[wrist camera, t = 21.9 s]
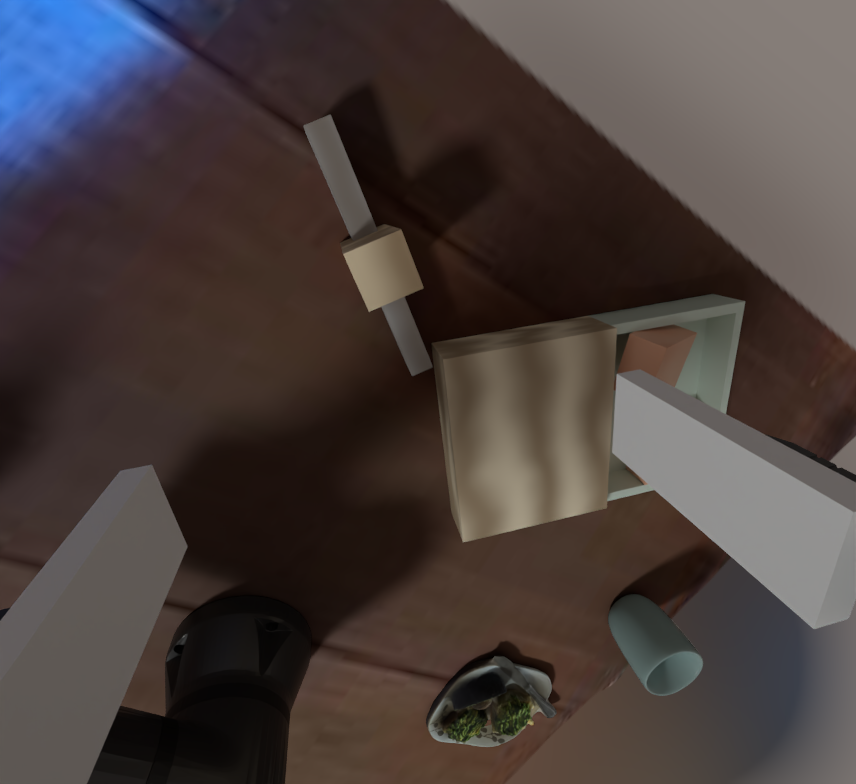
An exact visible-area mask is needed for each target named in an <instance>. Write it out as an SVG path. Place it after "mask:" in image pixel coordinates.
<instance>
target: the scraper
mask: <svg viewBox="0 0 856 784" xmlns="http://www.w3.org/2000/svg"><path fill="white" fill-rule="evenodd" d="M304 129H305V132H306V135H307V137H308V140H309V142H310V144H311V146H312V149H313V151H314V153H315V156H316V158H317V160H318V163H319V165H320V167H321V169H322V172H323V174H324V176H325V179H326V181H327V183H328V186H329V188H330V190H331V192H332V195H333V197H334V199H335V202H336V204H337V206H338V209H339V211H340V213H341V215H342V218H343V220H344V222H345V225H346V227H347V229H348V232H349V234H350V236H351V238H350V239H348V240H345V241H343V242H341V243H340V244H341V248H342V252H343V255H344V257H345V259H346V262H347V264H348V266H349V268H350V270H351V273H352V275H353V277H354V279H355V282H356V284H357V286H358V288H359V290H360V293H361V295H362V297H363V299H364V302H365V304H366V306H367V308H368V311H369V312H370V311H372V310H375V309H377V308H379V307H381V308H382V310H383V312H384V315H385V317H386V319H387V321H388V324H389V326H390V328H391V331H392V333H393V335H394V338H395V340H396V342H397V344H398V347H399V349H400V351H401V354H402V356H403V358H404V361H405V363H406V365H407V367H408V369H409V371H410V373H411V375H412V376H414V375H416V374H419V373H421V372H423V371H425V370H428V369H430V368H432V367H433V366H432V363H431V361H430V358H429V356H428V353H427V351H426V349H425V346H424V344H423V341H422V339H421V336H420V334H419V331H418V329H417V326H416V324H415V321H414V319H413V316H412V314H411V312H410V309H409V307H408V304H407V302H406V299H405V296H407V295H409V294H412V293H414V292H416V291H418V290H421V289H423V288H424V287H423V285H422V282H421V280H420V277H419V274H418V272H417V269H416V266H415V264H414V261H413V259H412V256H411V253H410V251H409V248H408V246H407V243H406V240H405V238H404V235H403V232H402V230H401V229H399V228H396V227H392V226H389V225H386V224H383V225H381V226H378V227H376V225H375V223H374V220H373V218H372V215H371V213H370V210H369V208H368V206H367V203H366V201H365V198H364V196H363V193H362V191H361V188H360V186H359V183H358V181H357V178H356V176H355V173H354V171H353V169H352V166H351V164H350V161H349V159H348V156H347V154H346V151H345V149H344V146H343V144H342V141H341V139H340V136H339V134H338V132H337V129H336V127H335V124H334V122H333V119H332V117H331V114H330V115H328V116H326V117H323V118H321V119H318V120H316V121H314V122H311V123H309V124H306V125H304Z"/></svg>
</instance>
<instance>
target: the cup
mask: <svg viewBox="0 0 856 784" xmlns="http://www.w3.org/2000/svg"><path fill="white" fill-rule="evenodd" d="M608 624H609V627H610V630H611V633H612V635H613V637H614V639H615V641H616V643H617V645H618V647H619V648H620V650H621V652H622V653H623V655H624V657H625V658H626V660H627V661H628V663H629V664H630V666H631V667H632V669H633V671H634V672H635V674H636V675H637V677H638V678H639V680H640V681H641V683H642V684H643V685H644V687H645V688H646V689H647V690H648V691H649V692H651V693H652V694H655V695H660V696H662V695H663V696H664V695H670V694H673V693H676V692H678V691H680V690H681V689H683V688H684V687H686V686H687V685H689V684H690V683H691V682H692V681H693V680H694V679H695V678H696V677H697V676H698V674H699V673H700V672H701V670H702V667H703V660H702V657H701V656H700V654H699V652H698V651H697V650H696V648H695V647H694V646H693V644H692V643H691V642H690V641H689V640H688V638H687V637H686V636H685V635H684V633H683V632H682V631H681V630H680V629H679V628H678V626H677V625H676V624H675V623H674V622H673V621H672V619H671V618H670V617H669V616H668V615H667V614H666V613H665V612H664V611H663V610H662V609H661V608H660V607H659V606H658V605H657V604H655V603H654V602H653V601H652V600H650V599H648V598H647V597H645V596H642V595H638V594H629V595H626V596H623V597H622V598H620V599H619V600H617V601H616V602H615V603H614V604H613V606H612V607H611V609H610V611H609V614H608Z"/></svg>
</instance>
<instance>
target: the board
mask: <svg viewBox="0 0 856 784" xmlns="http://www.w3.org/2000/svg"><path fill="white" fill-rule="evenodd" d="M616 339H617V328H616V327H613V326H611V325H609V324H606V323H604V322H602V321H599V320H597V319H594V318H592V317H590V316H583V317H578V318H572V319H566V320H560V321H555V322H549V323H543V324H537V325H532V326H526V327H520V328H515V329H509V330H503V331H497V332H492V333H486V334H480V335H474V336H469V337H463V338H457V339H452V340H446V341H440V342H434V343H431V346H432V354H433V362H434V371H435V379H436V388H437V396H438V404H439V413H440V421H441V430H442V438H443V446H444V455H445V463H446V471H447V480H448V488H449V497H450V505H451V512H452V515H453V518H454V520H455V523H456V525H457V528H458V530H459V533H460V535H461V538H462V540H463V542H467V541H471V540H475V539H480V538H484V537H488V536H492V535H496V534H500V533H505V532H509V531H513V530H517V529H521V528H525V527H530V526H534V525H538V524H542V523H546V522H551V521H555V520H559V519H563V518H567V517H571V516H576V515H580V514H584V513H588V512H592V511H597V510H601V509H605V508H607V495H608V478H609V461H610V443H611V426H612V409H613V391H614V374H615V357H616Z"/></svg>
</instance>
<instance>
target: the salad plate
mask: <svg viewBox="0 0 856 784" xmlns="http://www.w3.org/2000/svg"><path fill="white" fill-rule="evenodd" d="M551 690H552V686H551V681H550V679H549V677H548V675H546V674H545V673H544V672H542V671H540V670H538V669H535V668H531V667H527V666H523V665H520V664H516V663H512V662H511V661H510V660H509V659H507V658H506V657H504V656H494V658H489V659H484V660H480V661H477V662H474V663H472V664H469V665H467V666H466V667H464V668H463V669H461V670H460V671H459V672H458V673H457V674H456V675H455V676H454V677H453V678H452V679H451V680H450V681H449V682H448V683H447V684H446V686H445V687H444V688H443V690H442V691H441V692H440V694H439V695H438V696H437V698H436V699H435V700H434V702H433V704H432V706H431V709H430V711H429V713H428V716H427V719H426V723H427V727H428V730H429V732H430V734H431V735H432V737H433V738H434V739H436V740H438V741H441V742H449V743H461V744H469V745H472V746H482V747H492V746H497V745H500V744H503V743H505V742H507V741H509V740H511V739H513V738H514V737H516V736H517V735H518V734H519V733H520V732H521V731H522V729H525V727H526V725H527V724H531V726H533V725H534V722H533V721H532V716H533V715H534V714H535V713H536V712H539V711H540V712H542V713H543V714H544V715H545V716H546V717H547V718H552V717H554V716H555V714H556V709H555V708H554V707H553V706H552V704H551V703H550V702H549V701H548V697H549V695H550V693H551ZM487 720H491V723H492V725H489V726H485V724H486V723H487ZM484 726H485V727H484Z"/></svg>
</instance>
